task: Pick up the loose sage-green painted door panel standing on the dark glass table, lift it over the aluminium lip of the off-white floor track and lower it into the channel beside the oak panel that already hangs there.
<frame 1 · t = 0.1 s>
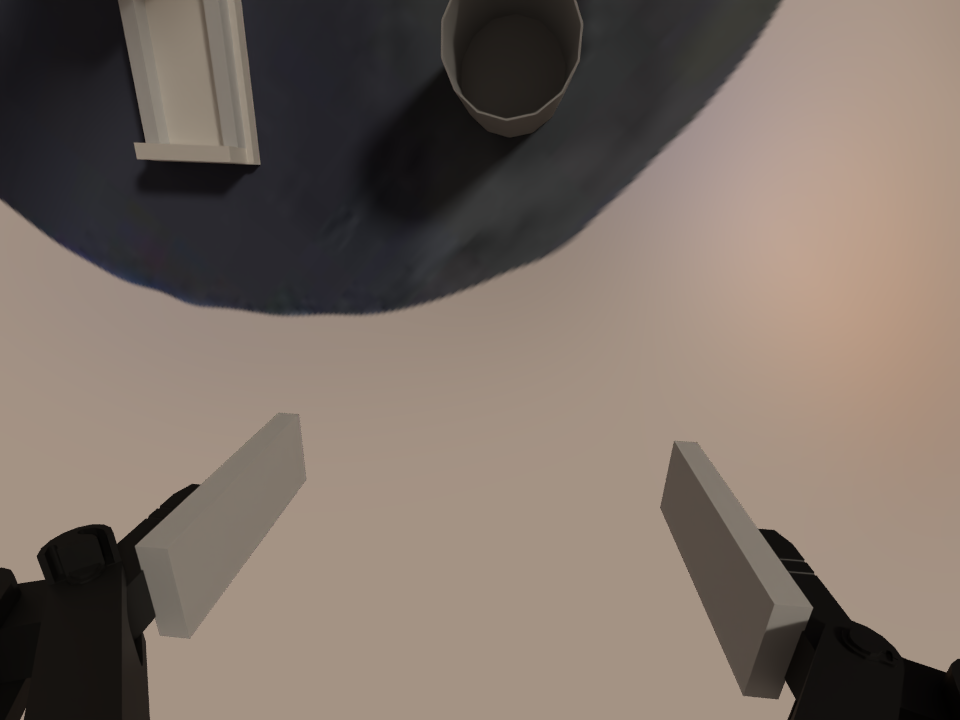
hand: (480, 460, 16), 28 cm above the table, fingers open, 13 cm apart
cup: (512, 79, 37), on the table
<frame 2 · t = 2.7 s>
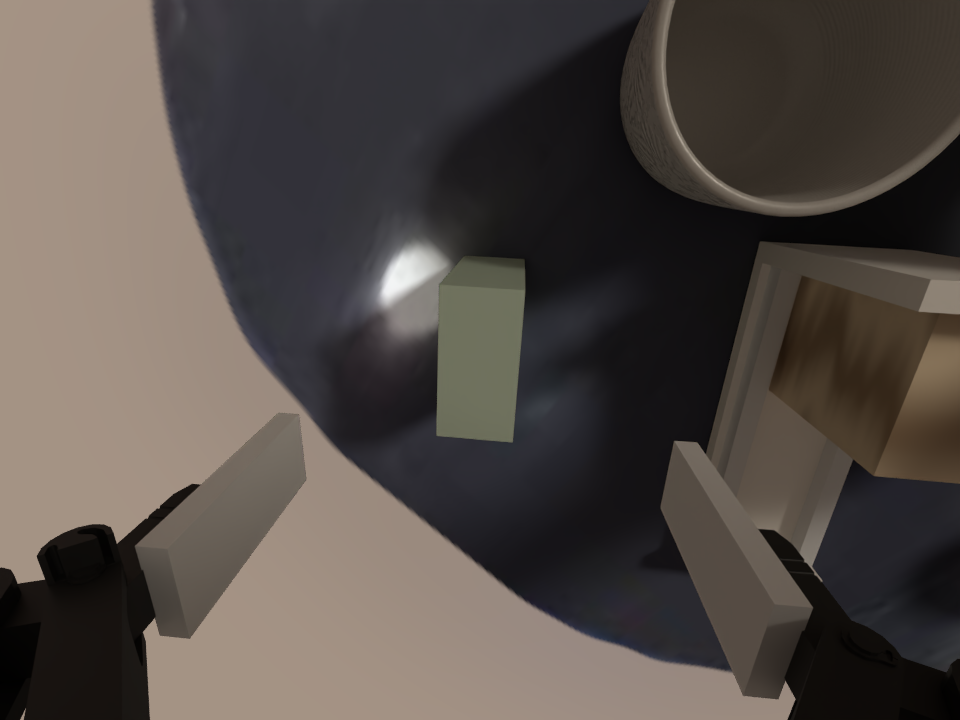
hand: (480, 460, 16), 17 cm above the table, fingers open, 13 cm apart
oak panel: (817, 335, 30), point 1 cm above the table, touching track
planter: (713, 93, 27), on the table
track: (781, 418, 33), on the table
green panel: (491, 315, 32), on the table
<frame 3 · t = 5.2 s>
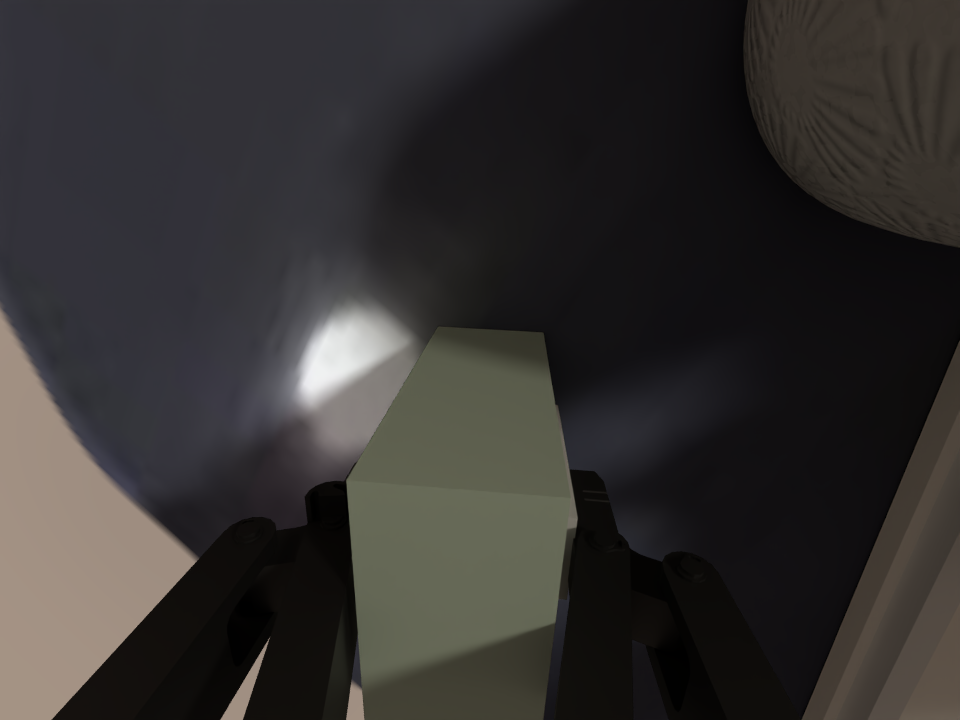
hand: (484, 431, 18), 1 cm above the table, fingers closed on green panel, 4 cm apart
planter: (916, 21, 14), on the table
green panel: (486, 423, 19), on the table, touching gripper
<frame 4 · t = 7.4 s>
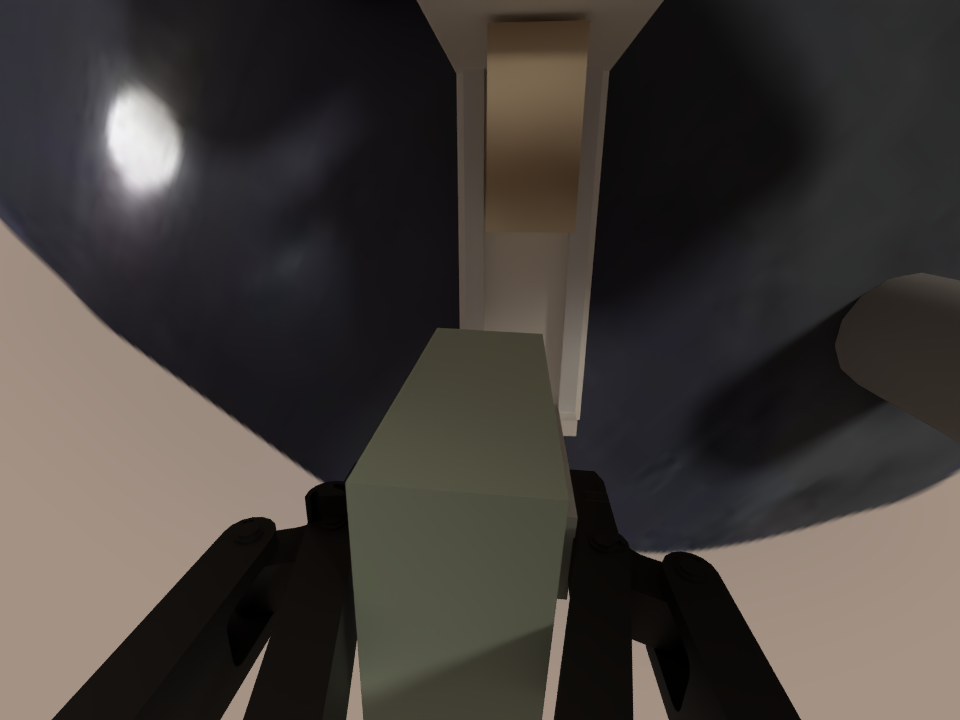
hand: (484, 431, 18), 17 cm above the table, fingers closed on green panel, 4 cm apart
oak panel: (529, 152, 29), point 1 cm above the table, touching track
track: (525, 255, 32), on the table
green panel: (485, 424, 19), point 16 cm above the table, touching gripper
cup: (899, 333, 32), on the table
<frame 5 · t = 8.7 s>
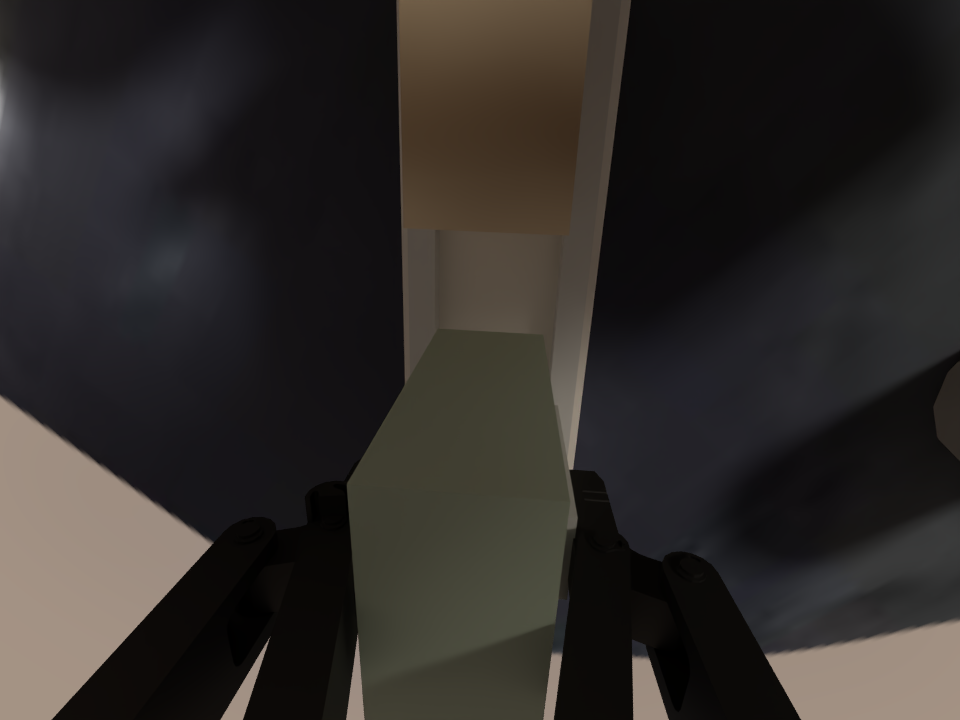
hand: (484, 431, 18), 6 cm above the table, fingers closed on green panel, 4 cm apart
oak panel: (506, 110, 19), point 1 cm above the table, touching track
track: (499, 265, 22), on the table
green panel: (485, 425, 19), point 6 cm above the table, touching gripper
when the fingers open (3 cm above the table, at t = 9.6 s): green panel stays where it is, resting on track.
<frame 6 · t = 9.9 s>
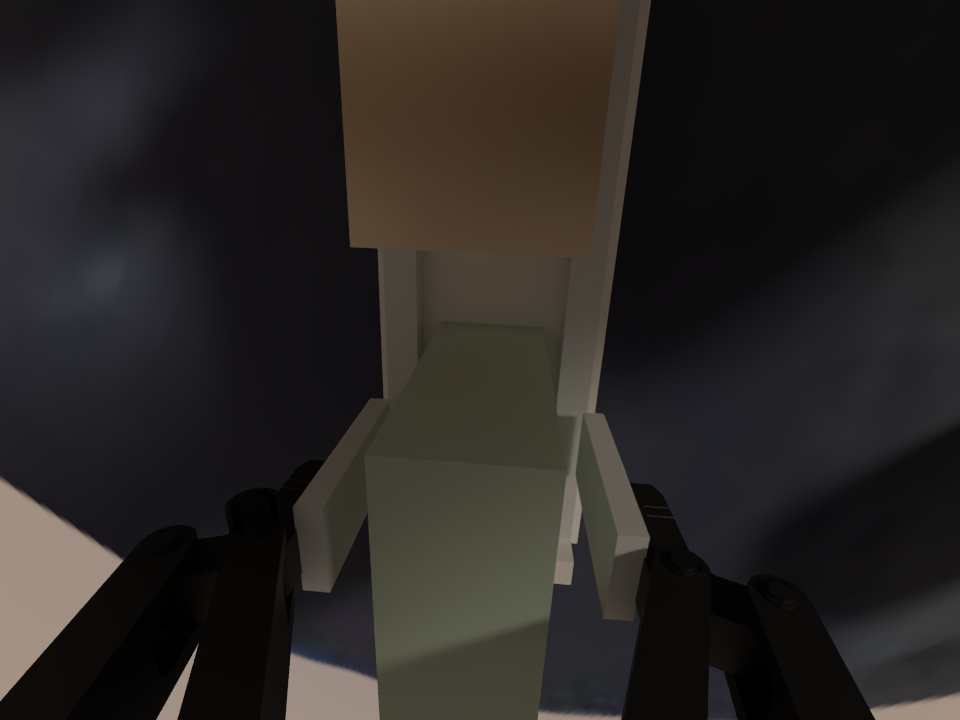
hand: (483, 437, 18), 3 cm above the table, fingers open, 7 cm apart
oak panel: (502, 94, 16), point 1 cm above the table, touching track
track: (494, 280, 19), on the table
green panel: (488, 414, 20), point 1 cm above the table, touching track
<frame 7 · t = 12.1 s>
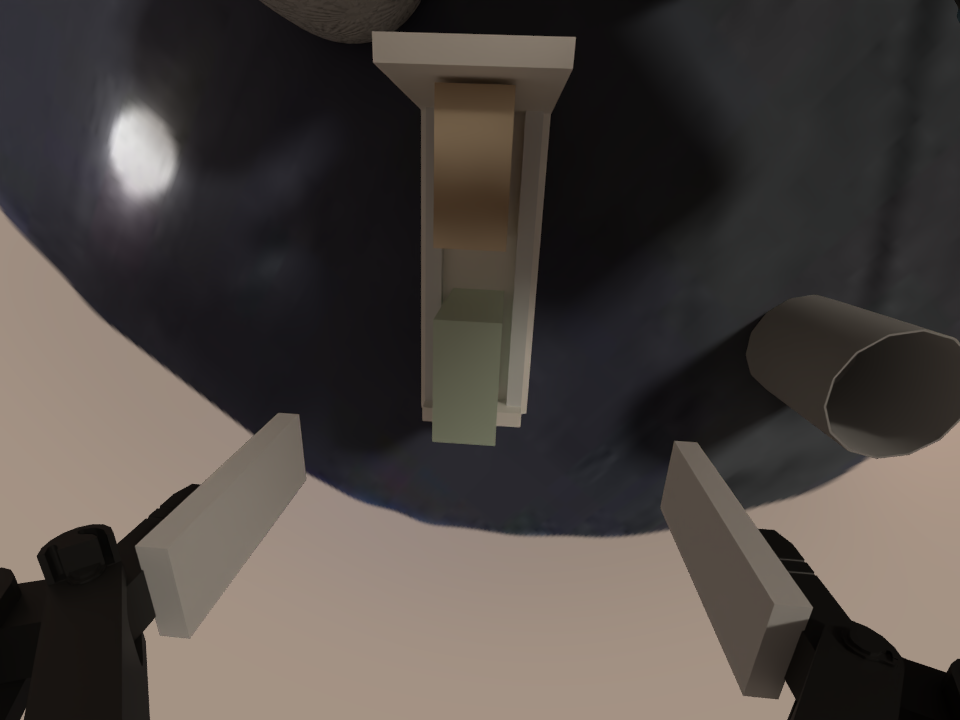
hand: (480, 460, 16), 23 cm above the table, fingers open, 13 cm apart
oak panel: (482, 178, 34), point 1 cm above the table, touching track
track: (479, 267, 37), on the table
green panel: (476, 338, 38), point 1 cm above the table, touching track
cup: (799, 345, 37), on the table
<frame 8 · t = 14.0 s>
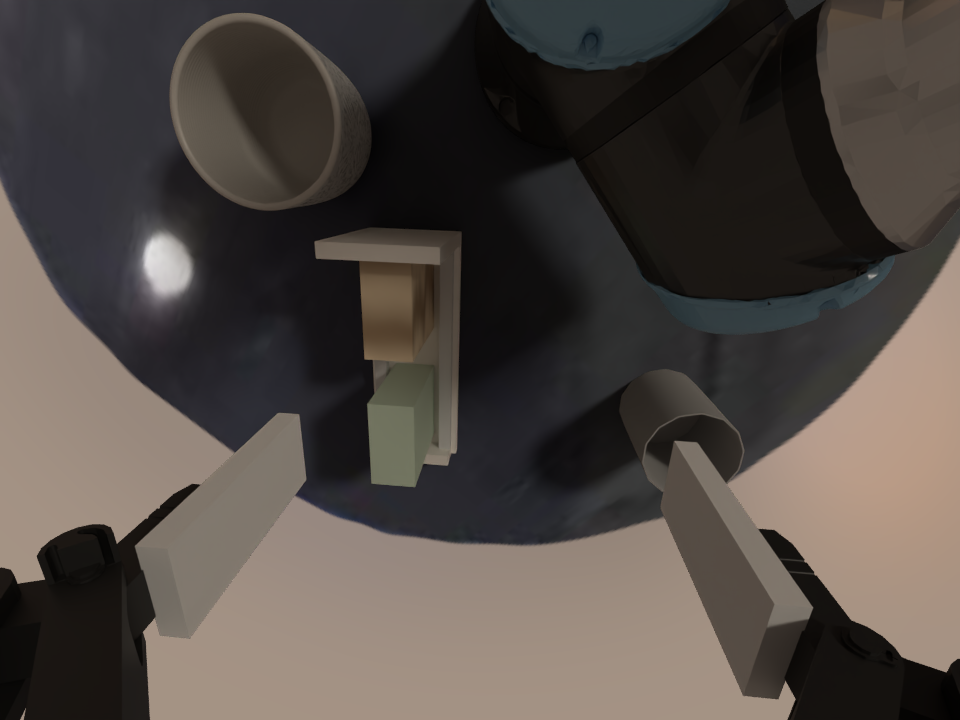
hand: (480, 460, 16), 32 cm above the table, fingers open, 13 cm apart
oak panel: (413, 287, 46), point 1 cm above the table, touching track
planter: (318, 135, 43), on the table
track: (416, 346, 49), on the table
green panel: (415, 398, 50), point 1 cm above the table, touching track
cup: (659, 405, 49), on the table
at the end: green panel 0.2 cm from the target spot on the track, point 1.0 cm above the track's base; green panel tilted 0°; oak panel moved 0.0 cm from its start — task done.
